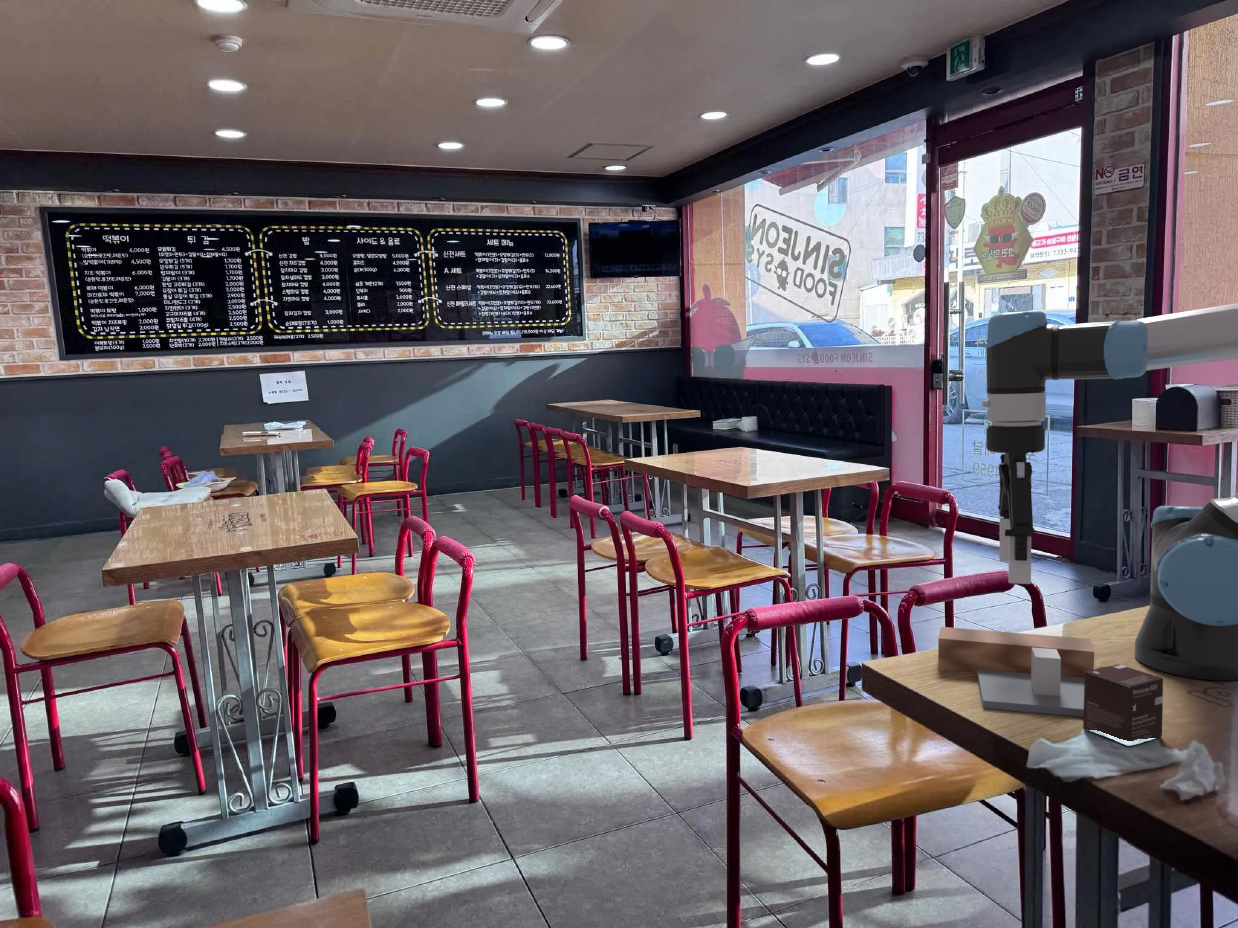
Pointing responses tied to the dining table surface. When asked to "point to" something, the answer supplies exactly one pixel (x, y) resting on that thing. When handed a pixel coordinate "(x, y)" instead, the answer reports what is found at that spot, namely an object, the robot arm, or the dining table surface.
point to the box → (1123, 702)
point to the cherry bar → (1009, 651)
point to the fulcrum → (1034, 687)
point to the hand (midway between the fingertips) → (1014, 571)
